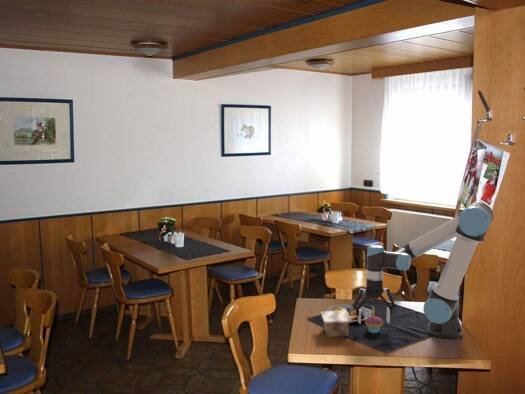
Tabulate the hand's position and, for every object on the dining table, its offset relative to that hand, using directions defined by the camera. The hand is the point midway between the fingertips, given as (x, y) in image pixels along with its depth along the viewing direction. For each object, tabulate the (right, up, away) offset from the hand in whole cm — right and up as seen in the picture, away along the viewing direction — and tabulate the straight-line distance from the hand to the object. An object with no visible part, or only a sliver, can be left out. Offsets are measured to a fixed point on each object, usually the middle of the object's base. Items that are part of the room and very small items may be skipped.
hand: (373, 322), depth 245 cm
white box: (-18, -5, 0) cm, 18 cm away
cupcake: (0, -5, 0) cm, 5 cm away
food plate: (-8, -2, +21) cm, 23 cm away
